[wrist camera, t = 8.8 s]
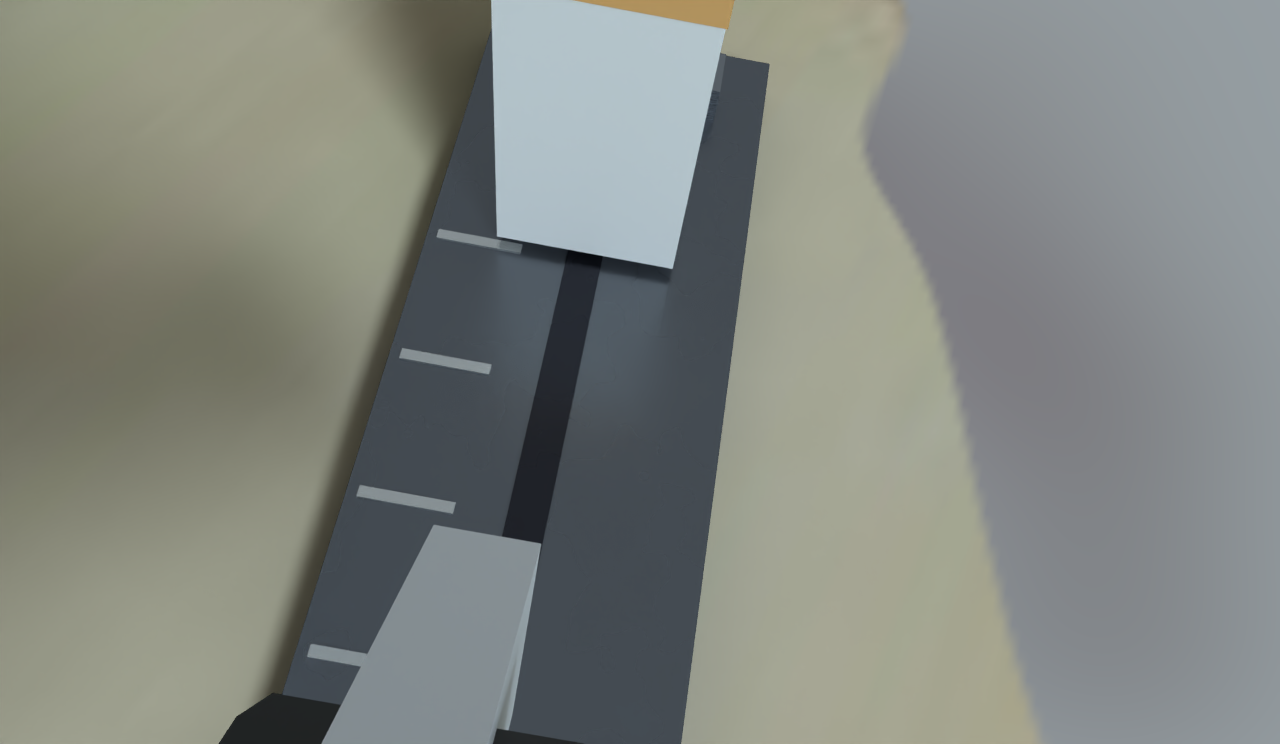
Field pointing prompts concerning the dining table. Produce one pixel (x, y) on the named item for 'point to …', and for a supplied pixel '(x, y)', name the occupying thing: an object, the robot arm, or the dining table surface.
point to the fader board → (555, 436)
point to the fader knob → (601, 120)
